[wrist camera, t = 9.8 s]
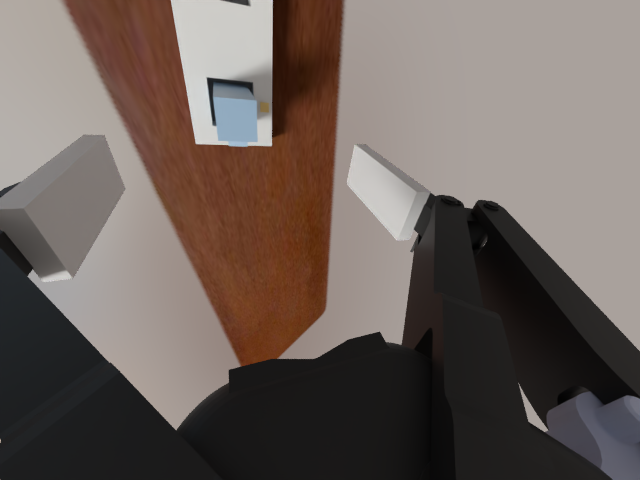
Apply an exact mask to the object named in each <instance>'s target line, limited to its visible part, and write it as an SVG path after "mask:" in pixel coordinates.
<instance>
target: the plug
mask: <svg viewBox="0 0 640 480" xmlns="http://www.w3.org/2000/svg"><path fill="white" fill-rule="evenodd" d="M213 101H214V109H215V118H216V126H217V134H218V141H228V143H229V146H246V147H248V142H258V135H257V101H256V99H255V98H254V96H253V95H252V93H251V92H250V90H249V89H248V87H247V86H246V85H239V84H229V83H220V82H213Z"/></svg>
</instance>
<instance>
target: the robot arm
mask: <svg viewBox="0 0 640 480" xmlns="http://www.w3.org/2000/svg"><path fill="white" fill-rule="evenodd" d="M347 185H348V186H349V187H350V188H351V189H352V190H353V191H354V192H355V194H356V195H357V196H358V197H359V198H360V199H361V200H362V202H364V204H365V205H366V206H367V207H368V208H369V210H370V211H371V212H372V213H373V214H374V215H375V216H376V217H377V219H378V220H379V221H380V222H381V223H382V224H383V225H384V226H385V227H386V229H387V230H388V231H389V232H390V233H391V234H392V235H393V237H394V238H395V239H396V240H397V241H400V240H409V239H410V237H411V235H412V233H413V231H414V230H415V231H416V232H417V233H418V236H417V239H416V241H415V243H414V245H413V247H412V249H411V252H413V251H414V257H413V264H412V272H411V279H410V287H409V294H408V302H407V309H406V310H407V311H406V317H405V325H404V332H403V340H402V345H399V344H395V343H389V342H385V340H384V338H383V337H382V335H381V333H380V332H377V333H373V334H369V335H365V336H361V337H357V338H353V339H349V340H347V341H345V342H344V343H342V344H340V345H338V346H337V347H335V348H333V349H332V350H330V351H328V352H327V353H325V354H323V355H322V356H320V357H318V358H316V359H270V360H266V361H262V362H258V363H254V364H250V365H246V366H242V367H238V368H235V369H230V370H229V383H228V384H226V385H224V386H222V387H221V388H219V389H218V390H216V391H215V392H213V393H212V394H210V395H209V396H208V397H207V398H206V399H204V400H203V401H202V402H201V403H200V404H199V405H198V406H197V407H196V408H195V409H194V410H193V411H192V412H191V413H190V414H189V415H188V416H187V417H186V419H185V420H184V421H183V422H182V424H181V425H180V426H179V427H178V429H177V430H175V429H174V428H173V427H172V426H171V425H170V424H169V423H168V422H167V421H166V420H165V419H164V417H162V415H161V414H160V413H159V412H158V411H157V410H156V409H155V408H154V407H153V406H152V405H151V404H150V403H149V402H148V401H147V400H146V399H145V398H144V396H142V394H141V393H140V392H139V391H138V390H137V389H136V388H135V387H134V386H133V385H132V384H131V383H130V382H129V381H128V380H127V379H126V378H125V377H124V376H123V374H122V373H120V371H119V370H118V369H117V368H116V367H115V366H113V365H112V363H109V362H108V361H107V360H106V359H105V358H104V357H103V356H102V355H101V354H100V353H99V351H98V350H97V349H96V348H95V347H94V346H93V345H92V344H91V343H90V342H89V341H88V340H87V339H86V338H85V337H84V336H83V335H82V334H81V333H80V331H79V330H78V329H77V328H76V327H75V326H74V325H73V324H72V323H71V322H70V321H69V320H68V319H67V318H66V317H65V316H64V315H63V314H62V313H61V311H60V310H59V309H58V308H57V307H56V306H55V305H54V304H53V303H52V302H51V301H50V300H49V299H48V298H47V297H46V296H45V295H44V294H43V293H42V291H41V290H39V288H38V287H37V286H36V285H35V284H34V283H33V282H32V281H31V280H30V279H29V278H28V277H27V276H28V274H29V273H30V272H31V271H32V269H33V270H34V271H35V272H36V274H37V275H38V276H39V277H40V279H41V280H42V281H43V282H48V281H56V280H65V279H73V278H74V276H75V274H76V273H77V271H78V269H79V267H80V266H81V264H82V262H83V260H84V259H85V257H86V255H87V254H88V252H89V250H90V248H91V247H92V245H93V243H94V242H95V240H96V238H97V237H98V235H99V233H100V231H101V230H102V228H103V226H104V225H105V223H106V221H107V220H108V218H109V216H110V214H111V213H112V211H113V209H114V208H115V206H116V204H117V202H118V201H119V199H120V197H121V196H122V194H123V192H124V191H125V187H124V184H123V182H122V179H121V176H120V174H119V172H118V169H117V166H116V164H115V161H114V158H113V156H112V153H111V151H110V148H109V146H108V143H107V141H106V138H105V136H104V135H83V136H82V137H80V138H79V139H78V140H76V141H75V142H74V143H72V144H71V145H70V146H68V147H67V148H66V149H64V150H63V151H62V152H60V153H59V154H58V155H57V156H55V157H54V158H53V159H51V160H50V161H48V162H47V163H46V164H44V165H43V166H42V167H40V168H39V169H38V170H37V171H35V172H34V173H33V174H31V175H30V176H29V177H28V178H26V179H25V180H23V181H22V182H19V183H17V184H14V185H12V186H9V187H7V188H4V189H3V190H2V191H0V439H1V443H0V480H640V351H639V350H638V349H637V348H636V347H635V346H634V345H633V344H632V343H631V342H630V341H629V340H628V338H626V336H625V335H624V334H623V333H622V332H621V331H620V330H619V329H618V328H617V327H616V326H615V325H614V324H613V323H612V322H611V320H609V318H607V316H606V315H605V314H604V313H603V312H602V311H601V310H600V309H599V308H598V307H597V306H596V305H595V304H594V303H593V302H592V300H591V299H590V298H589V297H588V296H587V295H586V294H585V293H584V292H583V291H582V290H581V289H580V288H579V287H578V286H577V285H576V284H575V283H574V281H572V279H571V278H570V277H569V276H568V275H567V274H566V273H565V272H564V271H563V270H562V269H561V268H560V267H559V266H558V265H557V264H556V263H555V261H554V260H553V259H552V258H551V257H550V256H549V255H548V254H547V253H546V252H545V251H544V250H543V249H542V248H541V247H540V246H539V245H538V244H537V242H536V241H535V240H533V238H532V237H531V236H530V235H529V234H528V233H527V232H526V231H525V230H524V229H523V228H522V227H521V226H520V225H519V224H518V222H517V221H516V220H515V219H514V218H513V217H512V216H511V215H510V214H509V213H508V212H507V211H506V210H505V209H504V208H503V207H501V206H500V205H498V204H497V203H495V202H492V201H486V200H478V201H477V203H476V204H475V206H474V207H473V209H470V208H464V205H463V203H462V202H461V201H459V200H457V199H456V198H454V197H451V196H445V195H438V196H434V195H433V194H432V193H430V191H429V190H428V189H426V188H425V187H423V186H422V185H421V184H419V183H418V182H417V181H415V180H414V179H412V178H411V177H410V176H408V175H407V174H406V173H404V172H403V171H401V170H400V169H399V168H397V167H396V166H394V165H393V164H392V163H390V162H389V161H387V160H386V159H385V158H383V157H382V156H381V155H379V154H378V153H377V152H375V151H374V150H372V149H371V148H370V147H368V146H367V145H366V144H355V146H354V151H353V156H352V160H351V165H350V170H349V175H348V179H347ZM485 242H486V243H485ZM484 244H485V245H484ZM483 245H484V246H483ZM518 382H519V384H520V386H521V388H522V390H523V392H524V394H525V396H526V397H527V399H528V400H529V402H530V404H531V405H532V407H533V408H534V410H535V412H536V413H537V415H538V416H539V418H540V419H541V420H542V422H543V423H544V425H545V426H546V427H547V429H548V430H549V431H547V432H543V431H542V430H540V429H539V428H537V427H536V426H534V425H533V424H531V423H529V422H528V419H527V415H526V411H525V407H524V403H523V399H522V395H521V392H520V388H519V384H518Z"/></svg>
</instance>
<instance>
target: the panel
mask: <svg viewBox="0 0 640 480" xmlns="http://www.w3.org/2000/svg"><path fill="white" fill-rule="evenodd" d="M171 4H172V9H173V15H174V21H175V26H176V32H177V38H178V44H179V49H180V55H181V61H182V67H183V72H184V78H185V84H186V89H187V95H188V101H189V107H190V112H191V118H192V124H193V129H194V135H195V141H196V144H215V145H229V143H228V141H218V134H217V126H216V118H215V109H214V101H213V82H220V83H229V84H239V85H246V86H247V87H248V89H249V90H250V92H251V93H252V95H253V96H254V98H255V99H256V101H257V135H258V142H248V145H251V146H272V36H273V0H171Z"/></svg>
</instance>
